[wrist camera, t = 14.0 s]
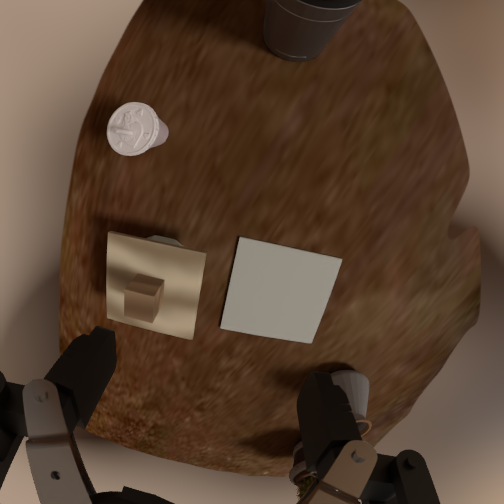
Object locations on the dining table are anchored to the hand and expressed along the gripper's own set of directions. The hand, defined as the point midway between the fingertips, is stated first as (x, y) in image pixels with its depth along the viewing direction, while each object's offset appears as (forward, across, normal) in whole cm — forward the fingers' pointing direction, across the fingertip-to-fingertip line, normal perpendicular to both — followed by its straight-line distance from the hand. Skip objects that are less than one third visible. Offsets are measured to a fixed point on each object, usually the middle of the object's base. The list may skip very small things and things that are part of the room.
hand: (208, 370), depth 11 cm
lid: (+27, +10, +12) cm, 31 cm away
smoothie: (+32, +14, -9) cm, 36 cm away
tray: (+32, -9, +12) cm, 35 cm away
